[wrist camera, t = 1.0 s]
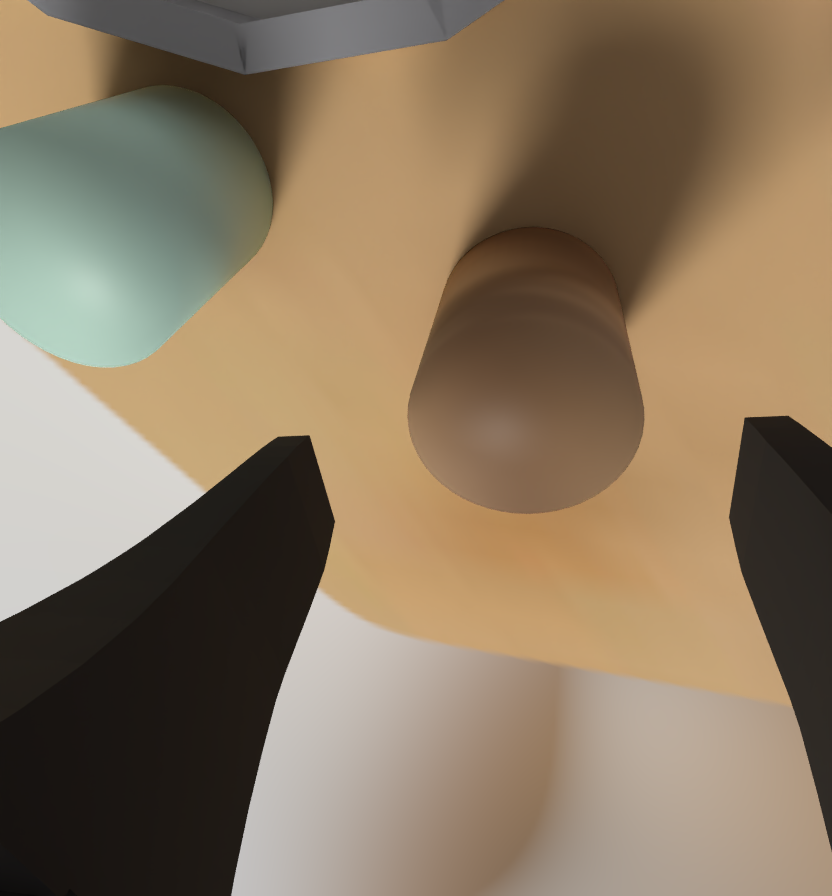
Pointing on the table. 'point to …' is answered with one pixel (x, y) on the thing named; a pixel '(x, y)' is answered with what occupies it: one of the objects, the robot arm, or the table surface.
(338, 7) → the groove tray
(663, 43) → the table surface
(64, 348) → the mint green cylinder
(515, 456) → the walnut bead
